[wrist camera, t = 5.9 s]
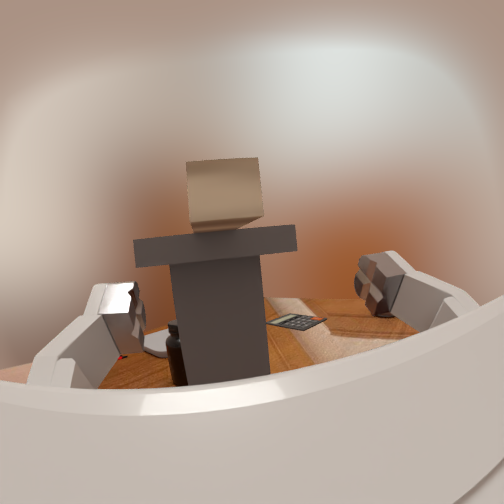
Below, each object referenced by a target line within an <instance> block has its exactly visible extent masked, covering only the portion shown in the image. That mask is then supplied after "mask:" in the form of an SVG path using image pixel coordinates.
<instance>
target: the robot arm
mask: <svg viewBox="0 0 504 504" xmlns="http://www.w3.org/2000/svg"><path fill="white" fill-rule="evenodd" d="M358 266H359V268H360V270H359V271H358V272H357V273H356V275H355V279H354V287H355V291H356V293H357V295H358V296H359V297H360V298H362V299H364V300H366V301H365V305H366V307H367V308H368V310H369V311H370V312H371V314H372V315H373V316H375V315H380V314H384V313H388V312H390V313H391V314H393V315H394V316H396V317H397V318H399V319H400V320H402V321H404V322H405V323H407V324H408V325H410V326H411V327H413V328H414V329H416V330H417V331H419V332H420V333H418V334H415V335H413V336H410V337H407V338H404V339H401V340H399V341H396V342H393V343H390V344H387V345H384V346H381V347H378V348H375V349H371V350H368V351H365V352H361V353H358V354H355V355H351V356H348V357H344V358H340V359H337V360H333V361H329V362H325V363H321V364H317V365H313V366H308V367H304V368H300V369H295V370H290V371H286V372H281V373H275V374H270V375H265V376H259V377H253V378H247V379H241V380H234V381H227V382H219V383H211V384H202V385H193V386H182V387H168V388H151V389H97V388H98V386H99V385H100V383H101V382H102V381H103V379H104V378H105V376H106V375H107V373H108V372H109V371H110V369H111V368H112V366H113V365H114V364H115V362H116V361H117V359H118V358H119V357H120V354H128V353H140V352H143V351H144V339H145V337H144V334H143V330H144V329H145V326H146V316H145V309H144V304H143V301H142V300H140V299H139V288H138V284H137V282H136V281H131V282H117V283H104V284H96V285H94V286H93V289H92V291H91V294H90V297H89V300H88V303H87V306H86V309H85V312H84V315H83V316H79V317H78V318H76V319H75V320H74V321H73V322H72V323H71V324H70V325H69V326H67V327H66V328H65V329H64V330H63V331H62V332H61V333H60V334H58V335H57V336H56V337H55V338H54V339H53V340H52V341H51V342H50V343H49V344H48V345H46V346H45V347H44V348H43V349H42V350H41V351H40V352H39V353H38V354H37V355H36V356H35V358H34V361H33V364H32V367H31V370H30V373H29V376H28V380H27V383H26V384H22V383H15V382H9V381H3V380H0V504H504V295H502V296H500V297H498V298H496V299H495V300H493V301H491V302H489V303H487V304H485V305H483V306H481V307H480V306H479V305H478V304H477V303H476V302H475V301H474V300H473V299H472V298H471V297H470V296H469V295H468V294H467V293H466V292H465V291H464V290H462V289H460V288H457V287H455V286H453V285H451V284H448V283H446V282H443V281H441V280H439V279H437V278H434V277H432V276H429V275H427V274H425V273H422V272H420V271H418V272H417V271H415V270H414V269H413V268H412V267H411V266H410V265H409V264H408V263H407V262H406V261H405V260H404V259H403V258H402V257H401V256H400V255H399V254H397V253H396V252H395V251H387V252H382V253H377V254H370V255H363V256H361V258H360V259H359V263H358Z"/></svg>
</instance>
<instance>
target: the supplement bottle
mask: <svg viewBox="0 0 504 504" xmlns="http://www.w3.org/2000/svg"><path fill="white" fill-rule="evenodd" d="M168 329H169V330H168V332H169V334H170V336H168V337H167V339H166V342H165V344H166V350H167V356H168V361H169V366H170V372H171V376H172V380H173V382H174V383H175V384H176V385H179V386H189V385H188V381H187V376H186V371H185V365H184V360H183V355H182V349H181V343H180V338H179V332H178V325H177V320H173V321H170V322H169V323H168Z"/></svg>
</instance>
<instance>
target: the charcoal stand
mask: <svg viewBox="0 0 504 504" xmlns="http://www.w3.org/2000/svg"><path fill="white" fill-rule="evenodd" d="M133 243H134V254H135V263H136V268H138V267H148V266H158V265H168V264H169V266H170V274H171V283H172V291H173V298H174V305H175V312H176V319H177V325H178V332H179V338H180V343H181V349H182V355H183V360H184V365H185V371H186V376H187V381H188V385H189V386H193V385H202V384H211V383H219V382H227V381H234V380H241V379H247V378H253V377H259V376H265V375H270V364H269V353H268V342H267V330H266V319H265V309H264V298H263V288H262V276H261V266H260V255H264V254H273V253H282V252H292V251H297V241H296V230H295V225H282V226H270V227H258V228H247V229H235V230H224V231H214V232H204V233H193V234H184V235H174V236H165V237H155V238H147V239H137V240H133Z"/></svg>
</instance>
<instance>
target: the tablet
mask: <svg viewBox="0 0 504 504" xmlns="http://www.w3.org/2000/svg"><path fill="white" fill-rule="evenodd" d="M168 330H169V329H166V330H162V331H159V332H156V333H152V334H149V335H146V336H144V337H145V339H144V351H146V352H149V353H151V354H153V355H155V356H158V357H168V356H167V350H166V344H165V342H166V339H167V337H168V336H170V334H169V332H168Z"/></svg>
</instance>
